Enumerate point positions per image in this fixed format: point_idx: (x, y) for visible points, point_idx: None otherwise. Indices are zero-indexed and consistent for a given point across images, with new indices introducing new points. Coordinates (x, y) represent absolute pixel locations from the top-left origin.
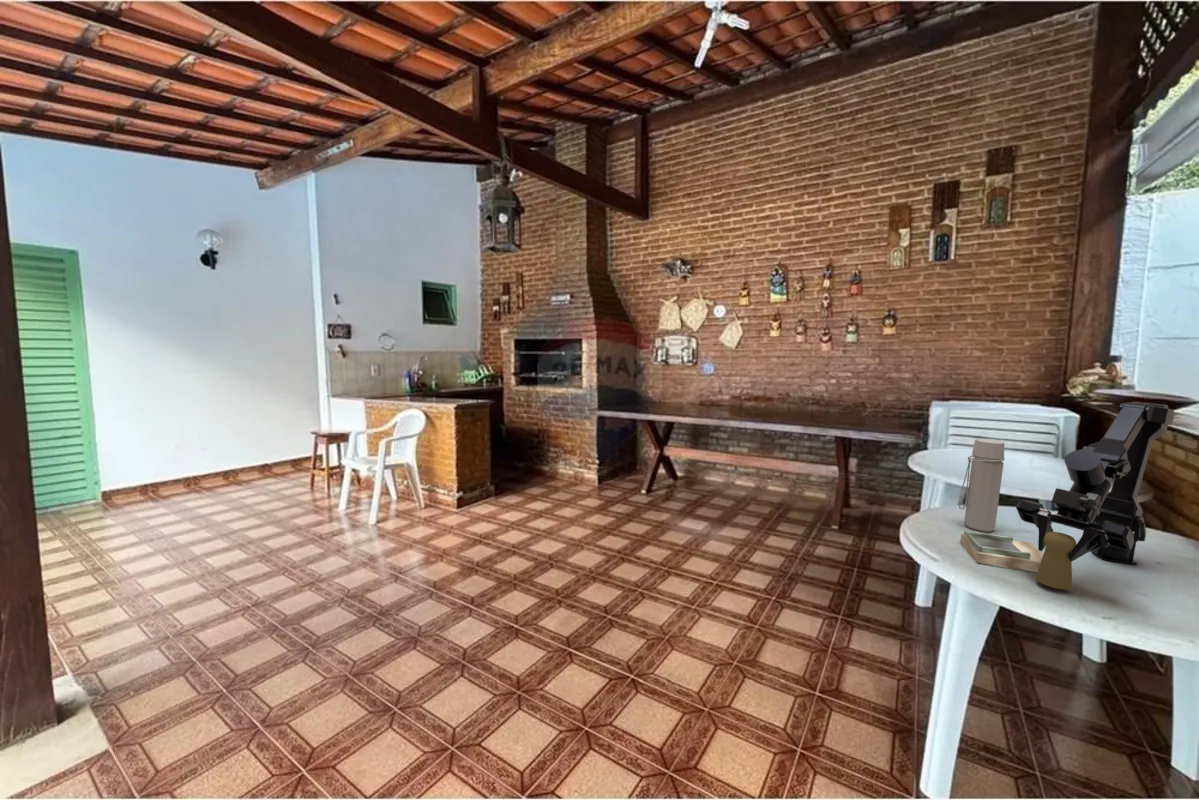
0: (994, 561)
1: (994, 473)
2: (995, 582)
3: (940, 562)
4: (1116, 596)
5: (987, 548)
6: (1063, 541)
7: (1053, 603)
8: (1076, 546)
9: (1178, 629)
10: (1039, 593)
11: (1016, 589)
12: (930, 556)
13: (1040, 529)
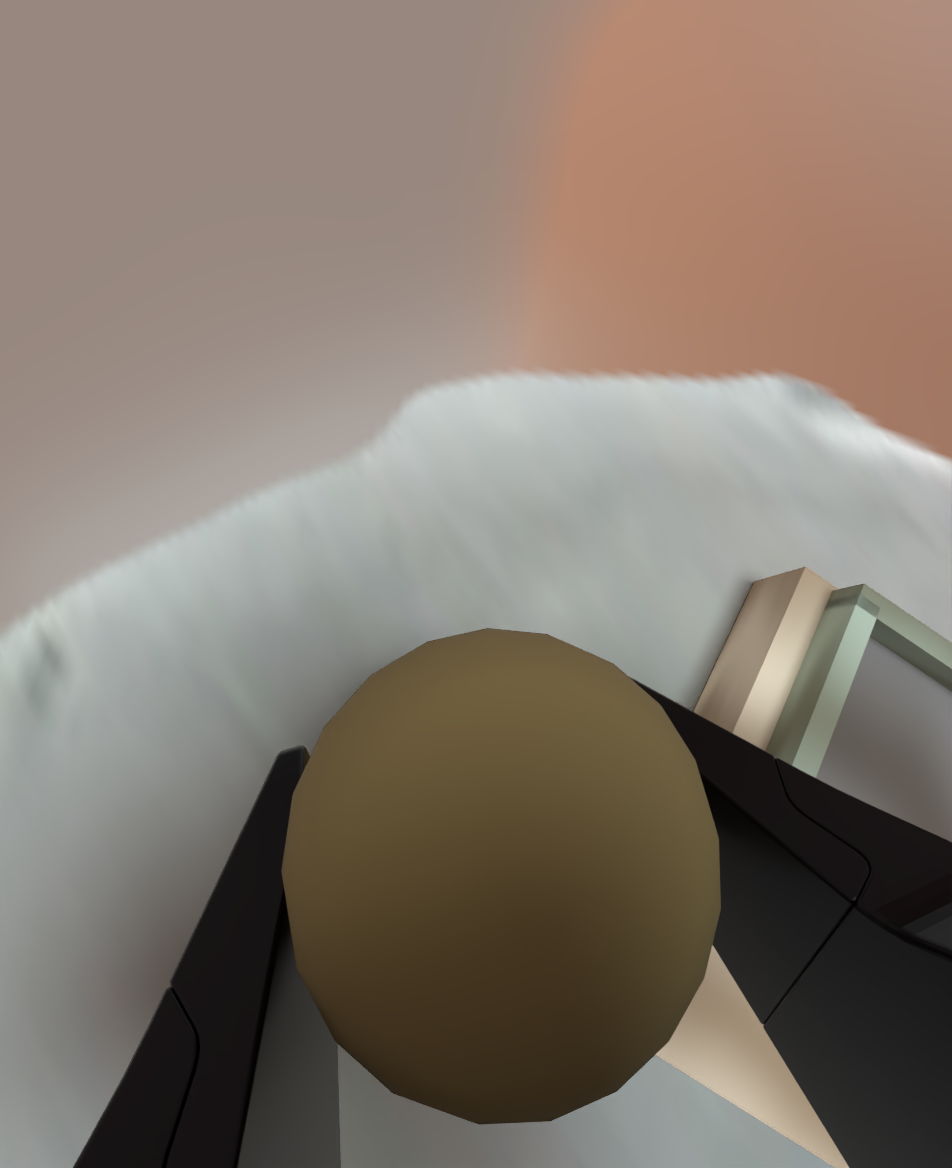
0: (740, 650)
1: None
2: (541, 454)
3: (773, 390)
4: None
5: (842, 630)
6: (362, 711)
7: (274, 530)
8: (264, 911)
9: None
10: (387, 574)
11: (453, 488)
12: (839, 405)
13: (844, 812)
